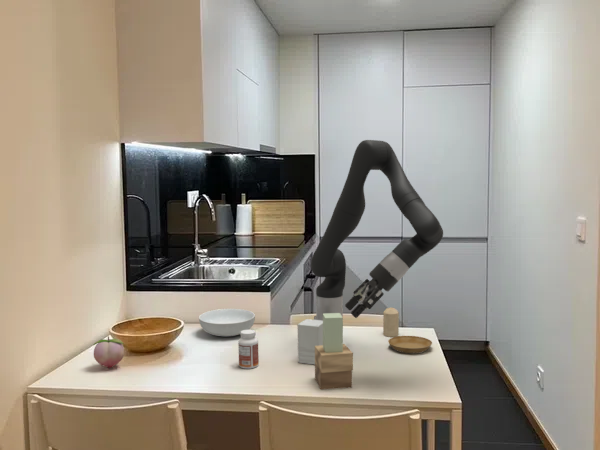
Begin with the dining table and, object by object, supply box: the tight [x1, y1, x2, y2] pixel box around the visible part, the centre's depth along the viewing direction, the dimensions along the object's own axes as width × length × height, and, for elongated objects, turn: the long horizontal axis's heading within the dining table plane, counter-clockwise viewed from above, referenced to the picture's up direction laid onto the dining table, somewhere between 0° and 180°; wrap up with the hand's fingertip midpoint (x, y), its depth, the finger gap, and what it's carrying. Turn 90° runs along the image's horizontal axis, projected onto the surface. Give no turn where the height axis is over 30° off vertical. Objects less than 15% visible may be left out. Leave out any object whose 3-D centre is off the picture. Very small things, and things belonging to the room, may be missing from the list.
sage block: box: [323, 313, 344, 353], centre depth 174 cm, size 5×5×10 cm
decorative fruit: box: [93, 336, 125, 369], centre depth 190 cm, size 9×8×10 cm
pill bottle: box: [237, 329, 260, 370], centre depth 190 cm, size 6×6×11 cm
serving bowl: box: [198, 308, 256, 338], centre depth 226 cm, size 21×21×7 cm
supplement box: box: [296, 318, 323, 366], centre depth 195 cm, size 7×7×13 cm
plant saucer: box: [387, 335, 433, 354], centre depth 207 cm, size 15×15×3 cm
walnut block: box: [314, 363, 353, 390], centre depth 176 cm, size 9×9×5 cm
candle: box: [382, 307, 400, 338], centre depth 222 cm, size 6×6×10 cm
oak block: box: [315, 343, 354, 373], centre depth 175 cm, size 9×9×5 cm
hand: (350, 311), depth 174 cm, fingers open, 8 cm apart
